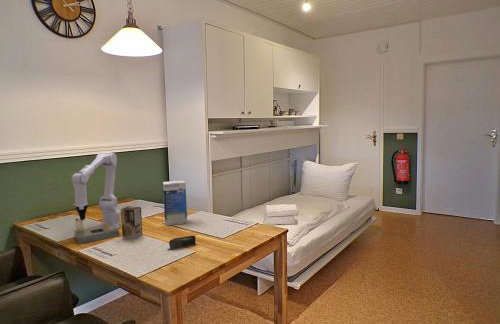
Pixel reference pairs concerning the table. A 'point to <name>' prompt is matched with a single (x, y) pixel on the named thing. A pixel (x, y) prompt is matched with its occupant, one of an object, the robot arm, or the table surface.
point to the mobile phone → (182, 242)
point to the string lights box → (175, 202)
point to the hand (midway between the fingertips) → (82, 219)
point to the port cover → (111, 227)
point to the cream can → (79, 225)
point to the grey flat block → (95, 234)
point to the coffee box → (131, 222)
